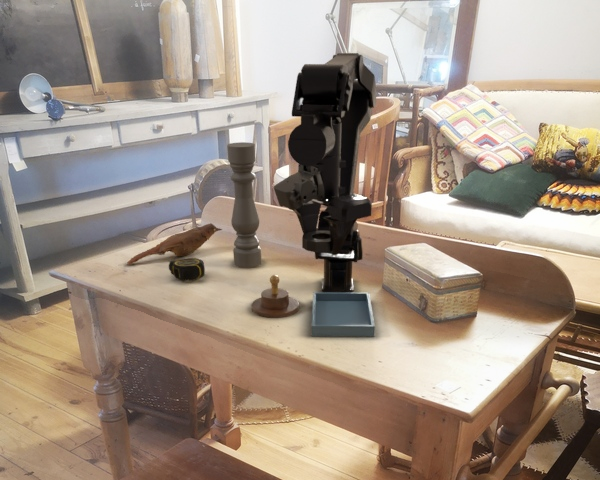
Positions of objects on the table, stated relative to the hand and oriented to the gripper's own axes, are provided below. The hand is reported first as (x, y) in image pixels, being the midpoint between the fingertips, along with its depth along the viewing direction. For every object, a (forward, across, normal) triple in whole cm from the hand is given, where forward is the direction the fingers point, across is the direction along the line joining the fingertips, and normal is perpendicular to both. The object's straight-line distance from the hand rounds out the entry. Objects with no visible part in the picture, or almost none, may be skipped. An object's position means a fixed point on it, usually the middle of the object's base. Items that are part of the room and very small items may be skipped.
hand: (321, 249), depth 103 cm
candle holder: (+13, -32, +4) cm, 35 cm away
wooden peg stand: (+12, -8, -5) cm, 15 cm away
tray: (+12, +3, +2) cm, 13 cm away
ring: (-1, 0, 0) cm, 1 cm away
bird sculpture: (+13, -48, -6) cm, 50 cm away
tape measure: (+13, -33, -11) cm, 37 cm away
